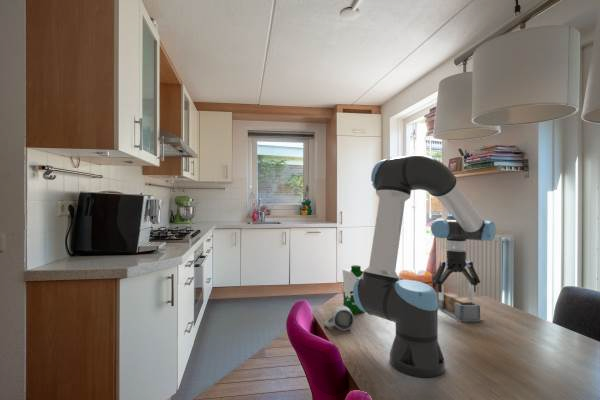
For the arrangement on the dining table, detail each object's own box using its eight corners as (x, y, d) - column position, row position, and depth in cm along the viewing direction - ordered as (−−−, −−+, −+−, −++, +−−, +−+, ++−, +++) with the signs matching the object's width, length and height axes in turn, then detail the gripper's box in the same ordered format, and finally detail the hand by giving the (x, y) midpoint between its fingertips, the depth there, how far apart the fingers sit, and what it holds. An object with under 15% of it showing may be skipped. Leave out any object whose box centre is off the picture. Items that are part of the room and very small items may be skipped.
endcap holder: (483, 320, 127) (483, 305, 127) (459, 321, 126) (459, 306, 126) (454, 305, 147) (454, 292, 147) (434, 305, 146) (433, 292, 146)
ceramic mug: (351, 322, 126) (351, 303, 126) (354, 330, 118) (353, 309, 118) (324, 322, 126) (324, 303, 126) (326, 330, 118) (325, 310, 118)
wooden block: (472, 316, 130) (472, 302, 130) (464, 317, 130) (464, 302, 130) (450, 306, 144) (450, 293, 144) (442, 306, 143) (442, 293, 143)
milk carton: (349, 315, 135) (349, 267, 135) (340, 308, 143) (340, 264, 143) (367, 312, 137) (367, 266, 138) (357, 306, 146) (357, 263, 146)
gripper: (477, 249, 142) (477, 296, 141) (424, 249, 140) (424, 297, 139) (489, 251, 134) (489, 301, 134) (433, 251, 132) (433, 302, 132)
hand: (456, 299), depth 136 cm, fingers open, 13 cm apart
